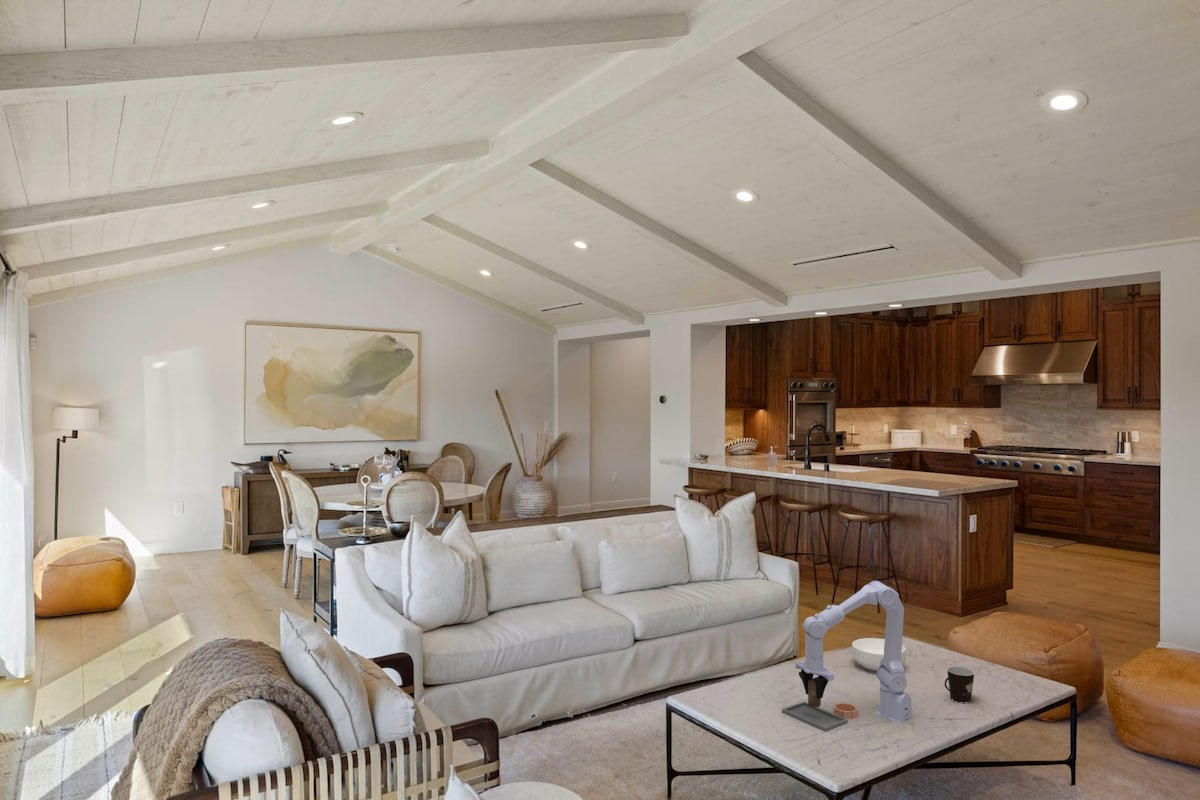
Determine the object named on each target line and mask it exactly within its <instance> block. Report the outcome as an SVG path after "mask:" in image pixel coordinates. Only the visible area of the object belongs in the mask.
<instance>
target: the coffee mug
mask: <svg viewBox="0 0 1200 800" xmlns="http://www.w3.org/2000/svg"><path fill="white" fill-rule="evenodd" d="M946 670H947V677H946V679H945V680H944V687H945V688H946V690H947V691H949V696H950V700H951V699H953V700H954V701H953V700H952V701H953V702H955V701H958V702H969V701H971V700H972V694H973V689H974V688H973V686H974V681H975V671H974V670H972V669H970V668H966V667H962V666H948V668H947V669H946ZM947 682H948V686H947ZM958 702H957V703H958ZM971 702H972V701H971ZM969 703H970V702H969Z"/></svg>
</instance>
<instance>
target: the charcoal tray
mask: <svg viewBox="0 0 1200 800" xmlns="http://www.w3.org/2000/svg"><path fill="white" fill-rule="evenodd" d="M781 713H782V714H784V715H786V716H789V717H791V718H794V720H795V719H796V720H798V721H800V722H803V723H804V724H807V725H808V726H811V727H814V728H816V729H818V730H820V731H822V732H824V733H825V732H829V731H831V730H834V729H836V728H839V727H841V726H844V725H846V724H848V721H849V719H845V718H842V717H840V716H838V715H835V714H833V712H830V711H827V710H825V709H823V708H821V707H811V706H809V705H808V701H807V702H806V701H801V702H798V703H796V704H792V705H789V706H787V707H784V708H782V709H781Z"/></svg>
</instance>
